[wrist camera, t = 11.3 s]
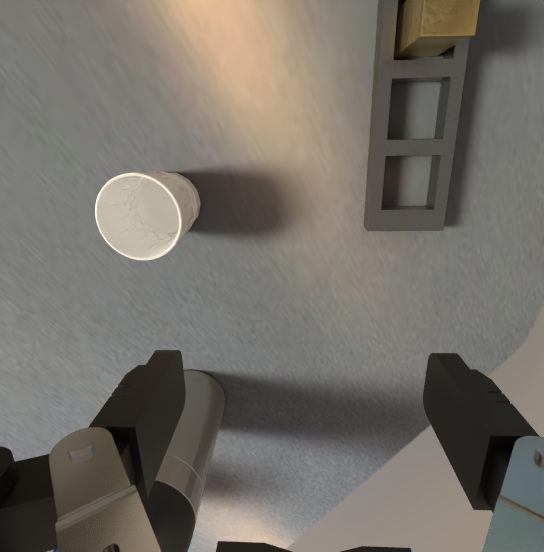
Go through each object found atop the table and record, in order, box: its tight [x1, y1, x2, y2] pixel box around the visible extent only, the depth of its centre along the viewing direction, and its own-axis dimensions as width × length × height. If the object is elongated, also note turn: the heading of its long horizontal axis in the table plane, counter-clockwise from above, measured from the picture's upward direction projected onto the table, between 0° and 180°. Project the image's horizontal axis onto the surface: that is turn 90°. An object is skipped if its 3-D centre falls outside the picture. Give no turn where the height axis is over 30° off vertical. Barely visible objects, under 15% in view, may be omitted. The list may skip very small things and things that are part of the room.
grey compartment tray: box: [364, 0, 470, 231], centre depth 37 cm, size 24×8×2 cm, turn 1°
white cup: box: [95, 171, 201, 260], centre depth 38 cm, size 8×8×10 cm
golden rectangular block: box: [395, 0, 480, 57], centre depth 32 cm, size 4×4×8 cm
